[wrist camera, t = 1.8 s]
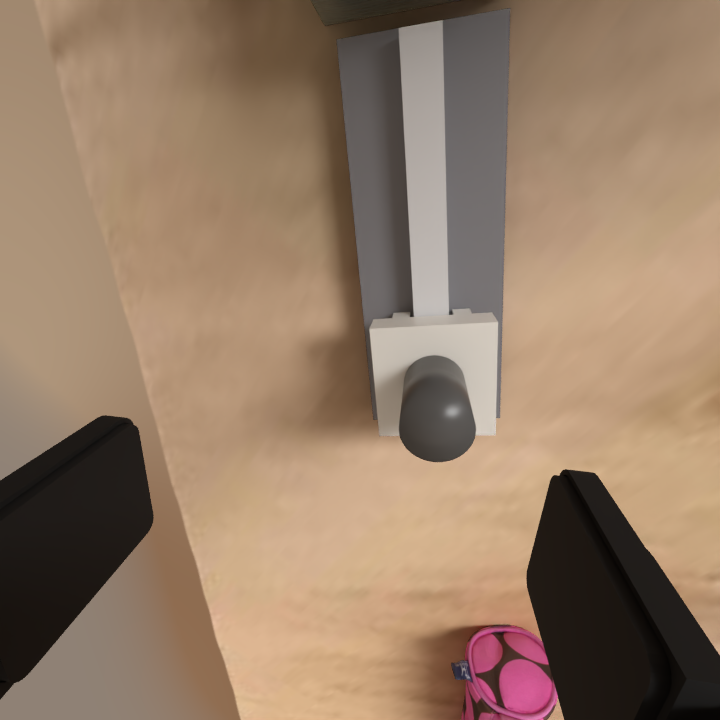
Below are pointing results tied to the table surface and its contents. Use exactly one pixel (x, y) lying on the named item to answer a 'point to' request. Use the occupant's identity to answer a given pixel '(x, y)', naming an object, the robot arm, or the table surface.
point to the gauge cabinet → (365, 8)
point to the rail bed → (463, 168)
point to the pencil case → (506, 676)
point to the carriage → (436, 380)
